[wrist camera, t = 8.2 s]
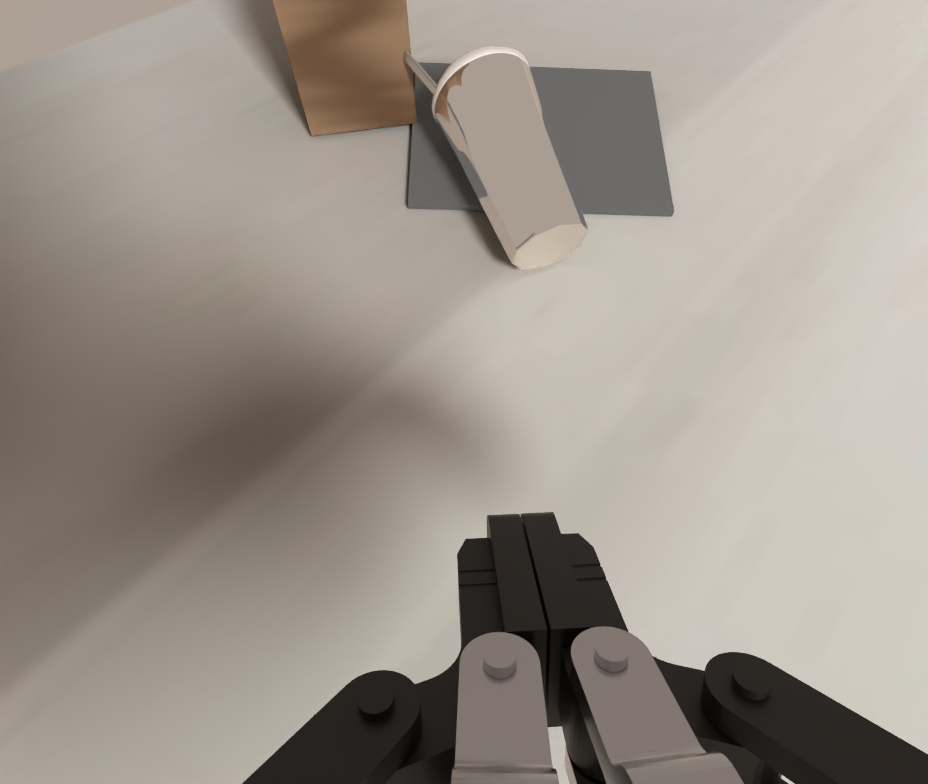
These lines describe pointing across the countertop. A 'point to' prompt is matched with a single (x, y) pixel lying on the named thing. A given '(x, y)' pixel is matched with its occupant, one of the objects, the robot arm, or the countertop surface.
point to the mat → (563, 143)
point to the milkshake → (508, 153)
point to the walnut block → (349, 62)
